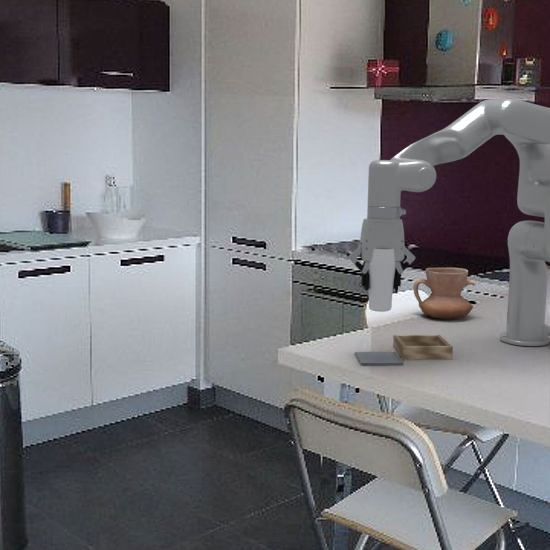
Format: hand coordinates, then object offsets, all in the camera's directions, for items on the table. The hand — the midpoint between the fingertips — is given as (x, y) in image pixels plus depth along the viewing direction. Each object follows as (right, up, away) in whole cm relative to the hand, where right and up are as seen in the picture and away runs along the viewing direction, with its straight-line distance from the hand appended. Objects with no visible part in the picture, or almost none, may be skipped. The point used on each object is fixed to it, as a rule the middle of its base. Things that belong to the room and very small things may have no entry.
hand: (380, 288), depth 200 cm
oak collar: (+11, -16, +10) cm, 22 cm away
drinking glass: (0, -5, +1) cm, 5 cm away
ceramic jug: (+25, -9, +50) cm, 57 cm away
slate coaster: (0, -17, +3) cm, 17 cm away
